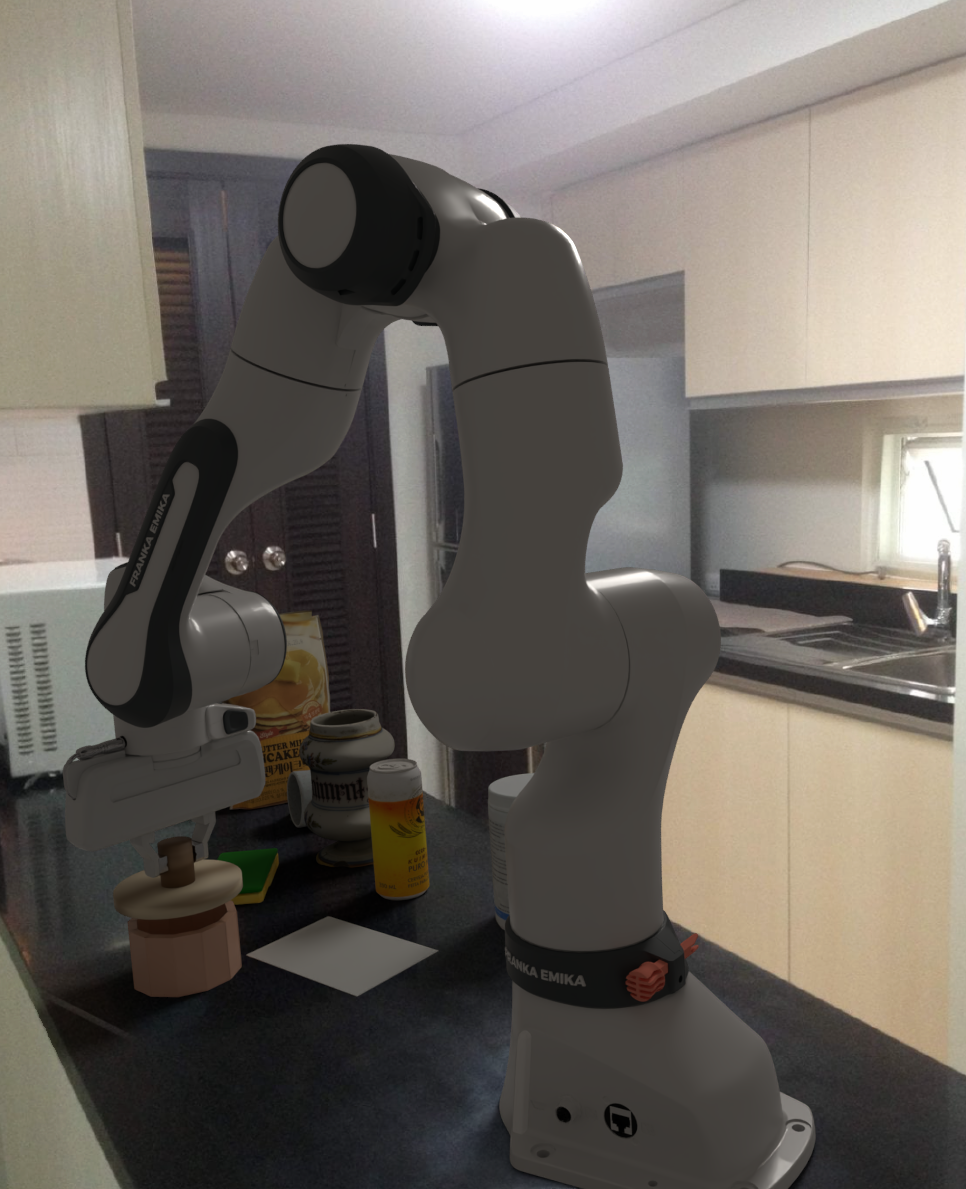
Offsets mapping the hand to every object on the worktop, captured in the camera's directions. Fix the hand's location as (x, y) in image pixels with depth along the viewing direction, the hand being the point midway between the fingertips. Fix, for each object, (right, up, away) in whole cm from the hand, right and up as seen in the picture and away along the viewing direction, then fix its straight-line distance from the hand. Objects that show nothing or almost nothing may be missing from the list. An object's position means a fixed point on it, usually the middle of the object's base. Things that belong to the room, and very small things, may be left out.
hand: (177, 867), depth 104 cm
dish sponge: (+1, -9, +25) cm, 26 cm away
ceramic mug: (+6, -6, +48) cm, 49 cm away
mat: (+15, -10, +3) cm, 18 cm away
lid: (0, -3, 0) cm, 3 cm away
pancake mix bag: (-1, -5, +60) cm, 60 cm away
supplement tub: (+35, -8, +8) cm, 37 cm away
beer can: (+20, -8, +18) cm, 29 cm away
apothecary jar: (+14, -7, +32) cm, 35 cm away
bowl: (+1, -11, +1) cm, 11 cm away
